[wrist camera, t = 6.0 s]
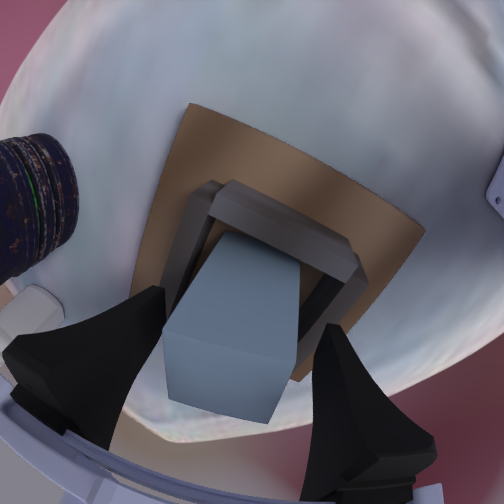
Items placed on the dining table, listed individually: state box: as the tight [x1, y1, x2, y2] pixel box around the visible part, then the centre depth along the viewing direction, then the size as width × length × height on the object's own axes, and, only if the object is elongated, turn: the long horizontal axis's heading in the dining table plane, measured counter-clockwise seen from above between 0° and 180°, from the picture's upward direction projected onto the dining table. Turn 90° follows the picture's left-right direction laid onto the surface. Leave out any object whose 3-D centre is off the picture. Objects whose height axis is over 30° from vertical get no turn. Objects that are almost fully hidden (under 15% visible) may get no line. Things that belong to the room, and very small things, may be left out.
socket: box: [129, 103, 426, 382], centre depth 15 cm, size 14×14×4 cm
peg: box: [162, 231, 300, 424], centre depth 12 cm, size 4×4×8 cm
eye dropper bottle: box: [0, 285, 64, 367], centre depth 17 cm, size 4×6×12 cm
